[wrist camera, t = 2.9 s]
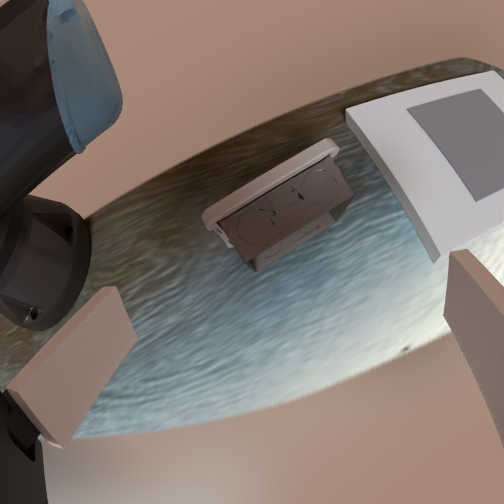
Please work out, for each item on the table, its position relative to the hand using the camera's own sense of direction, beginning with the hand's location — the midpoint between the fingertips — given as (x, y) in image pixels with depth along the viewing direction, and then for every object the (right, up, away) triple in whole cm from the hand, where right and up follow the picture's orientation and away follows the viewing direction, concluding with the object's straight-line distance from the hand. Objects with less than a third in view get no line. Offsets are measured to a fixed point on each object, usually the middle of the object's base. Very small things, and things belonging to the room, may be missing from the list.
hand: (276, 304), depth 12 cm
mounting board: (+21, +12, +13) cm, 27 cm away
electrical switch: (+2, +3, +15) cm, 15 cm away
